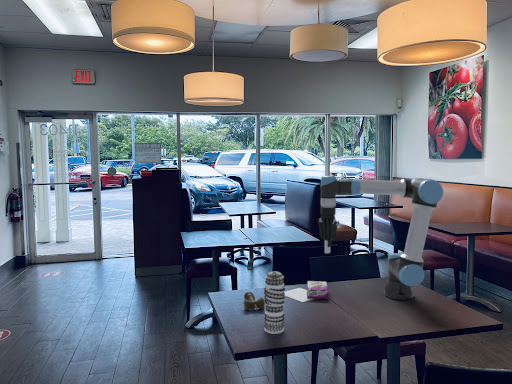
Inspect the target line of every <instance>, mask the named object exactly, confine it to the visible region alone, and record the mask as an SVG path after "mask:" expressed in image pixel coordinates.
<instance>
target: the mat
mask: <svg viewBox="0 0 512 384" xmlns="http://www.w3.org/2000/svg"><path fill="white" fill-rule="evenodd" d="M283 292H284V293H285V295H283V296H284V297H285V298H286V297H287V298H289V299H292V300H295V301H297V302H300V303H306V302H309V301H313V300H314V299H313V298H307V289H304V288H302V287H297V288H294V289H290V290H285V291H283Z"/></svg>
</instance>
